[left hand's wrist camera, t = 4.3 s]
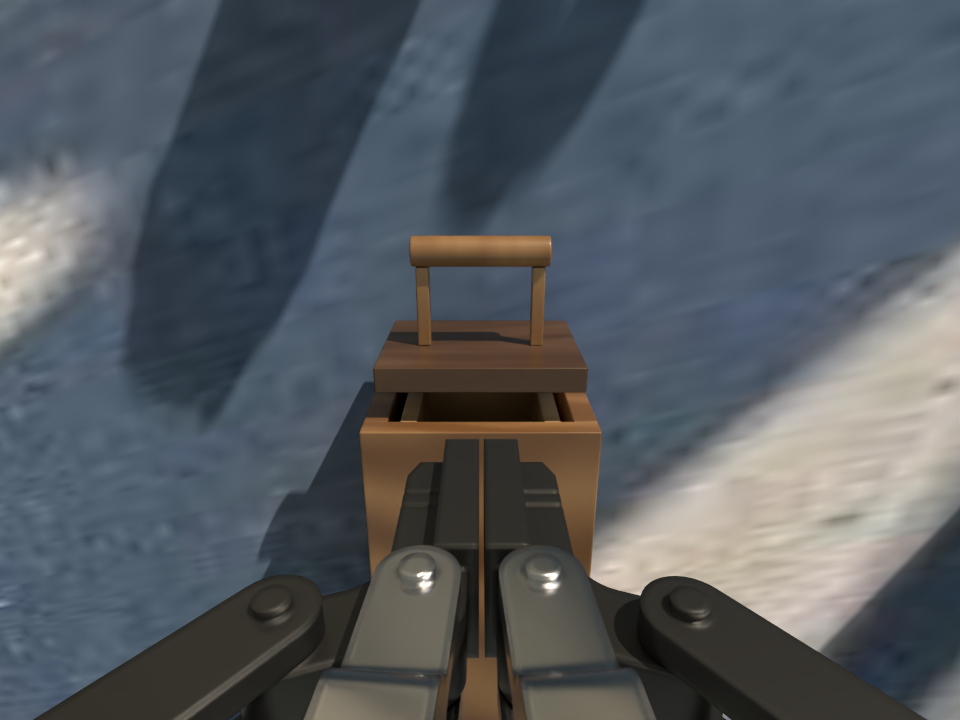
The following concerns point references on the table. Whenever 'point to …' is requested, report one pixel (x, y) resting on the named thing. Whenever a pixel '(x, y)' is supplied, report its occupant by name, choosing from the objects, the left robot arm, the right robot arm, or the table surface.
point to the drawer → (480, 344)
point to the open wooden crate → (406, 444)
